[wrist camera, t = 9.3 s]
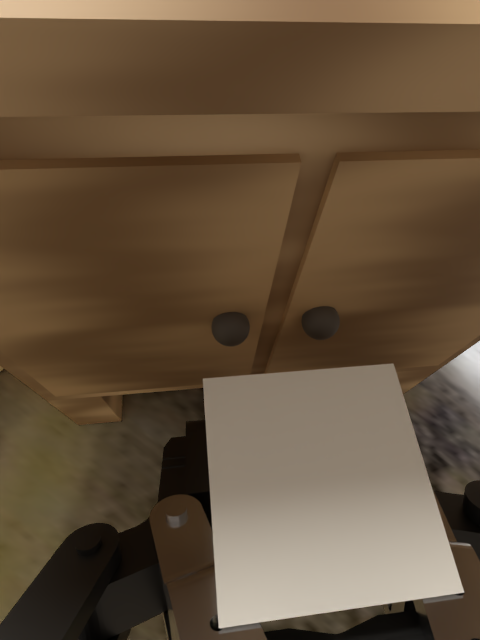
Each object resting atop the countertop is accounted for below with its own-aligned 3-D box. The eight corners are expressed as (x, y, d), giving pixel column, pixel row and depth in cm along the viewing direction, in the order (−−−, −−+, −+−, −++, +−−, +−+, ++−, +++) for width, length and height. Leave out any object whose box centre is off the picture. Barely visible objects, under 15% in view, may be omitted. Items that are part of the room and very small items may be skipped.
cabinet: (65, 445, 18) (-677, 36, 3) (80, 291, 22) (-210, -225, 7) (415, 412, 20) (1055, 48, 5) (371, 274, 24) (647, -166, 9)
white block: (215, 567, 16) (218, 628, 6) (195, 262, 23) (182, 62, 13) (312, 554, 16) (464, 592, 6) (263, 259, 23) (300, 63, 13)
